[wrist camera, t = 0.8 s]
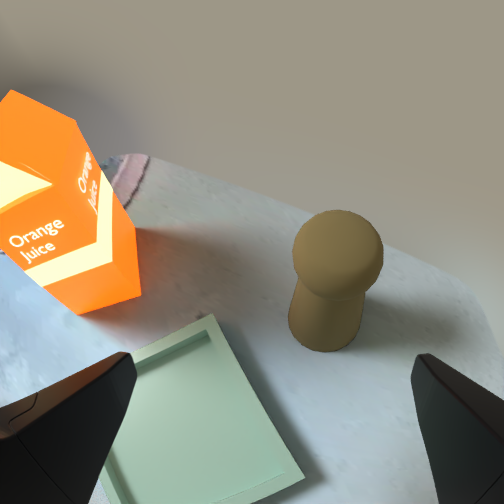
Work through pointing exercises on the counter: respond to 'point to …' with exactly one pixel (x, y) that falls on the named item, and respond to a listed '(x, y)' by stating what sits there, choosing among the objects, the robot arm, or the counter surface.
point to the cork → (332, 278)
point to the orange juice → (62, 210)
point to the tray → (195, 428)
